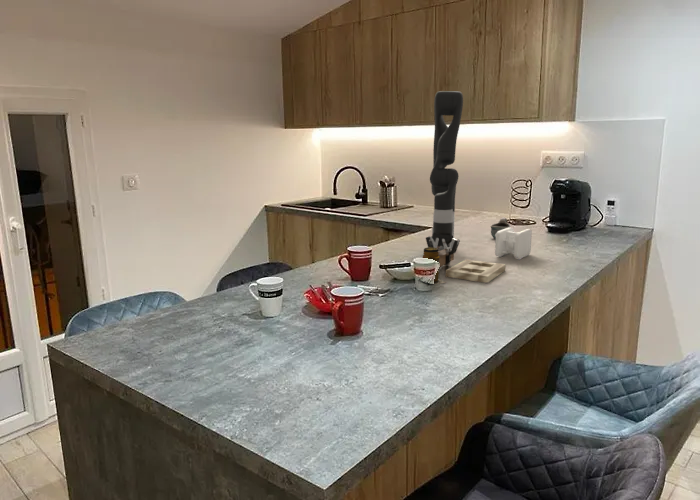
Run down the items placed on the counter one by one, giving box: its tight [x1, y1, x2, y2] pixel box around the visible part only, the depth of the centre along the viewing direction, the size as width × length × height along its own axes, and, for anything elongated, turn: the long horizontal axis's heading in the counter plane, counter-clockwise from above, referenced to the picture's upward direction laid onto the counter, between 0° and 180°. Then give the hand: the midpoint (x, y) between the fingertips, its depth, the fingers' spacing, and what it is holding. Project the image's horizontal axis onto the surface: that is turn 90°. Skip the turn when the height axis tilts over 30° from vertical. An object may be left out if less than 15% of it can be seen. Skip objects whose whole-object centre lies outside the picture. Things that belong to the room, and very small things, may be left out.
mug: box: [490, 217, 512, 240], centre depth 262 cm, size 10×12×10 cm
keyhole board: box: [445, 259, 507, 284], centre depth 199 cm, size 16×20×2 cm
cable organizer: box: [494, 227, 533, 261], centre depth 224 cm, size 15×11×12 cm
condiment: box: [422, 246, 447, 285], centre depth 189 cm, size 7×8×12 cm
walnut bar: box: [438, 249, 455, 268], centre depth 206 cm, size 4×14×6 cm, turn 146°
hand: (441, 263), depth 206 cm, fingers closed on walnut bar, 4 cm apart
